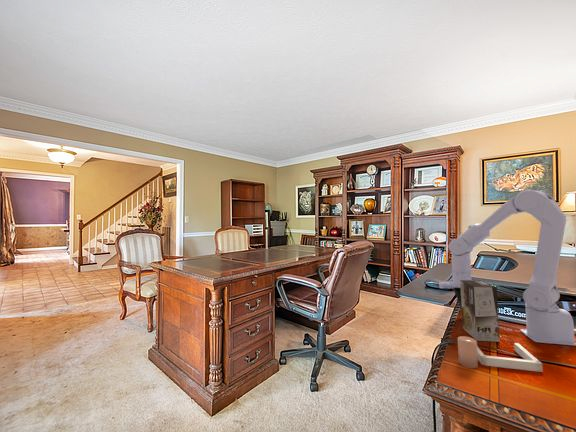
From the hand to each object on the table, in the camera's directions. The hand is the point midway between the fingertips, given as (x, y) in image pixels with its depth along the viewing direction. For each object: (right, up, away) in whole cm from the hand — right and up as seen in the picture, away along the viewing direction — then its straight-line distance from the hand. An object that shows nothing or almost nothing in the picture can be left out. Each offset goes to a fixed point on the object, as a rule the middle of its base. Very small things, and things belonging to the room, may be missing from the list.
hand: (463, 308), depth 93 cm
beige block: (-18, -4, -29) cm, 34 cm away
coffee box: (-4, -3, -14) cm, 15 cm away
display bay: (-8, -3, -27) cm, 28 cm away
